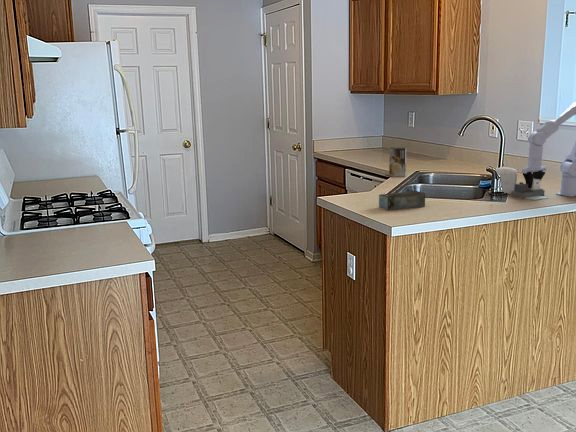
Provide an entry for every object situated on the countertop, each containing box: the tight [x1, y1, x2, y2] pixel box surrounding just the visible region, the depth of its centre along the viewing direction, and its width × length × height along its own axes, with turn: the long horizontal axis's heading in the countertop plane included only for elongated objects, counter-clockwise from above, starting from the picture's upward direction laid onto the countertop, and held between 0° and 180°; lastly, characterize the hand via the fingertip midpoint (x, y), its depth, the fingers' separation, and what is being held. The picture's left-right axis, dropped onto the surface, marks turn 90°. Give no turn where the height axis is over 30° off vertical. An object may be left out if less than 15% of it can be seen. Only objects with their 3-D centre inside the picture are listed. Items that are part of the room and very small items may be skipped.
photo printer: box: [494, 166, 518, 195], centre depth 272 cm, size 10×4×12 cm, turn 60°
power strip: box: [510, 181, 546, 200], centre depth 265 cm, size 14×7×7 cm, turn 119°
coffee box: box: [388, 146, 407, 178], centre depth 324 cm, size 9×6×16 cm
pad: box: [524, 195, 549, 201], centre depth 260 cm, size 9×5×1 cm, turn 119°
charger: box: [528, 179, 542, 190], centre depth 266 cm, size 4×5×5 cm
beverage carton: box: [378, 189, 426, 212], centre depth 246 cm, size 8×19×7 cm, turn 111°
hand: (532, 187), depth 267 cm, fingers closed on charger, 4 cm apart
